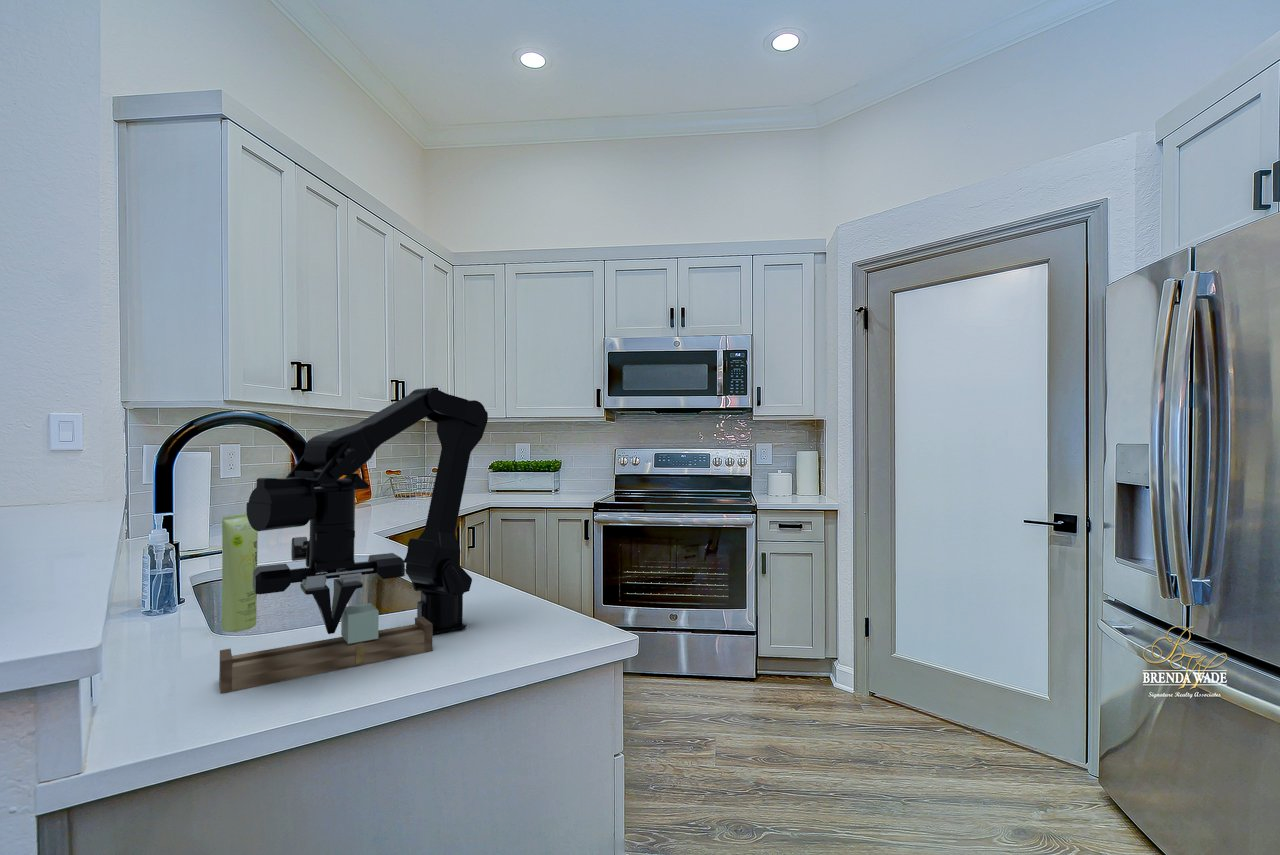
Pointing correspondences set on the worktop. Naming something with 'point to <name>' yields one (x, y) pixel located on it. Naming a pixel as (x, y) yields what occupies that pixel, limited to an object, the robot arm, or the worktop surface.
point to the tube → (238, 573)
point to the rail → (320, 656)
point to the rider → (360, 623)
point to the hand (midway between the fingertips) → (330, 633)
